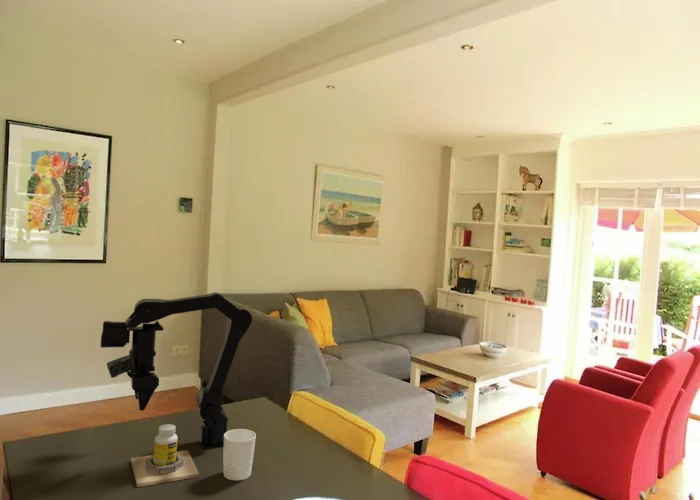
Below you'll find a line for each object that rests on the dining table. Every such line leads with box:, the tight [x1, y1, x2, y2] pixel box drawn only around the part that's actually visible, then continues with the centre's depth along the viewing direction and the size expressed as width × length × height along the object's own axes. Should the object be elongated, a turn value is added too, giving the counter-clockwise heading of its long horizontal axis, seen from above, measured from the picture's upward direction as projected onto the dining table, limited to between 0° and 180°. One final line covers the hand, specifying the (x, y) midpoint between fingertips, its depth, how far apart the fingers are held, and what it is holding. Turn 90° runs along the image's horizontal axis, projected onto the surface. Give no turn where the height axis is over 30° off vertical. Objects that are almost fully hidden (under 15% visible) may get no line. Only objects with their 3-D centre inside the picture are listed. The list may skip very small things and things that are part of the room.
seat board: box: [130, 449, 200, 488], centre depth 124 cm, size 14×14×2 cm
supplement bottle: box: [153, 423, 179, 466], centre depth 124 cm, size 5×5×10 cm
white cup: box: [222, 428, 257, 481], centre depth 124 cm, size 8×8×10 cm
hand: (139, 404), depth 132 cm, fingers open, 9 cm apart
